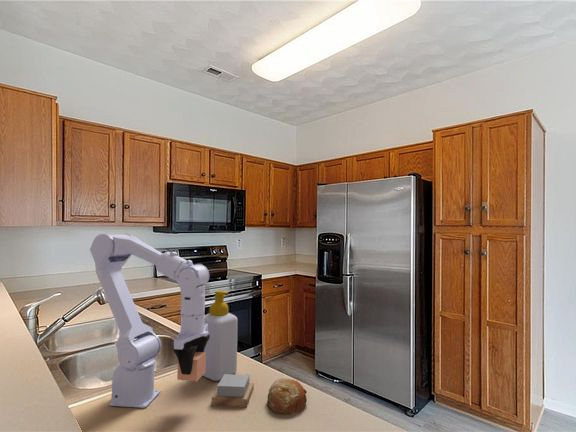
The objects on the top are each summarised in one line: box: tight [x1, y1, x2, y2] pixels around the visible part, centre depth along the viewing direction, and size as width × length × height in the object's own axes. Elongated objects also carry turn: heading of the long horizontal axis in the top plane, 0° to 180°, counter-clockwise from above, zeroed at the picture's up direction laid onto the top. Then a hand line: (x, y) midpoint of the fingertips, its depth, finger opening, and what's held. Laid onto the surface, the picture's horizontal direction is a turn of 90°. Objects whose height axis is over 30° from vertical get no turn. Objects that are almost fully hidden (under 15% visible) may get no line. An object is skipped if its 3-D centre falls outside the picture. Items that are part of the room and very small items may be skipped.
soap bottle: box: [202, 289, 239, 382], centre depth 101 cm, size 9×9×25 cm
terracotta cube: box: [176, 352, 206, 382], centre depth 81 cm, size 5×5×5 cm
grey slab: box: [216, 373, 250, 397], centre depth 87 cm, size 7×7×2 cm
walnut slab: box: [211, 382, 255, 408], centre depth 87 cm, size 9×9×2 cm
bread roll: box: [266, 377, 308, 415], centre depth 84 cm, size 10×10×8 cm
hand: (191, 369), depth 81 cm, fingers closed on terracotta cube, 5 cm apart
